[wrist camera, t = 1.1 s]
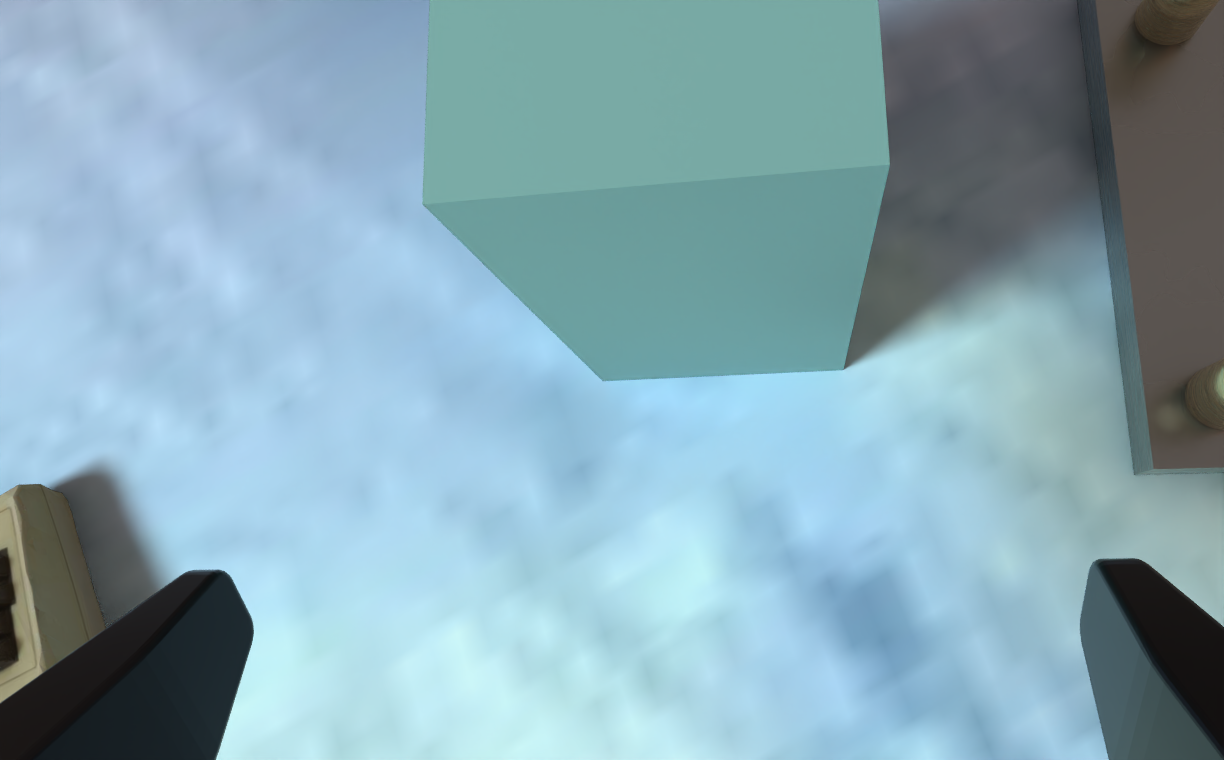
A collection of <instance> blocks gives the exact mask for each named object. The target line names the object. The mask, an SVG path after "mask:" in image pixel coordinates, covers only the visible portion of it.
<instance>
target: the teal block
mask: <svg viewBox="0 0 1224 760" xmlns="http://www.w3.org/2000/svg"><path fill="white" fill-rule="evenodd" d="M889 167H890V158H889V144H888V130H887V116H886V103H885V89H884V75H883V61H882V47H881V33H880V19H879V6H878V0H430V7H429V35H428V63H427V91H426V119H425V147H424V175H423V203H422V204H423V205H424V206H425V207H426V208H427V209H428V210H429V211H430V212H431V213H432V214H433V215H434V216H435V217H436V218H437V219H438V220H439V221H440V222H441V223H442V224H443V225H444V226H445V227H446V228H447V229H448V230H449V231H450V232H451V233H452V234H453V235H454V236H455V237H456V238H457V239H458V240H459V241H460V242H461V243H462V244H463V245H464V246H466V247H467V248H468V249H469V250H470V251H471V252H472V253H473V254H474V255H475V256H476V257H477V258H478V259H479V260H480V261H481V262H482V263H483V264H484V265H485V266H486V267H487V268H488V269H489V270H490V271H491V272H492V273H493V274H494V275H495V276H496V277H497V278H498V279H499V280H500V281H501V282H502V283H503V284H504V285H505V286H506V287H507V288H508V289H509V290H510V291H511V292H512V293H513V294H514V295H516V296H517V297H518V298H519V299H520V300H521V301H522V302H523V303H524V304H525V305H526V306H527V307H528V308H529V309H530V310H531V311H532V312H533V313H534V314H535V315H536V316H537V317H538V318H539V319H540V320H541V321H542V322H543V323H544V324H545V325H546V326H547V327H548V328H549V329H550V330H551V331H552V332H553V333H554V334H555V335H556V336H557V337H558V338H559V339H560V340H561V341H562V342H563V343H564V344H565V345H567V346H568V347H569V348H570V349H571V350H572V351H573V352H574V353H575V354H576V355H577V356H578V357H579V358H580V359H581V360H582V361H583V362H584V363H585V364H586V365H587V366H588V367H589V368H590V369H591V370H592V371H593V372H594V373H595V374H596V375H597V376H598V377H599V378H600V379H601V380H602V381H615V380H637V379H659V378H680V377H702V376H723V375H745V374H767V373H788V372H810V371H832V370H843V369H844V365H845V361H846V356H847V352H848V347H849V343H850V339H851V334H852V330H853V325H854V321H855V316H856V312H857V308H858V303H859V299H860V294H861V290H862V286H863V281H864V277H865V272H866V268H867V264H868V259H869V255H870V250H871V246H872V242H873V237H874V233H875V228H876V224H877V220H878V215H879V211H880V206H881V202H882V197H883V193H884V189H885V184H886V180H887V175H888V171H889Z"/></svg>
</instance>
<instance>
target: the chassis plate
mask: <svg viewBox="0 0 1224 760" xmlns="http://www.w3.org/2000/svg"><path fill="white" fill-rule="evenodd" d="M1077 2H1078V11H1079V19H1080V27H1081V36H1082V44H1083V52H1084V61H1085V69H1086V77H1087V86H1088V94H1089V102H1090V111H1091V119H1092V127H1093V136H1094V144H1095V152H1096V161H1097V169H1098V177H1099V186H1100V194H1101V202H1102V211H1103V219H1104V227H1105V236H1106V244H1107V252H1108V261H1109V269H1110V277H1111V286H1112V294H1113V302H1114V311H1115V319H1116V328H1117V336H1118V344H1119V353H1120V361H1121V369H1122V378H1123V386H1124V394H1125V403H1126V411H1127V419H1128V428H1129V436H1130V444H1131V453H1132V461H1133V469H1134V475H1150V474H1191V473H1224V0H1077Z"/></svg>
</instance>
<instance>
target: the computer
mask: <svg viewBox="0 0 1224 760" xmlns="http://www.w3.org/2000/svg"><path fill="white" fill-rule="evenodd" d="M104 629H106V626H105V623H104V620H103V617H102V614H101V611H100V607H99V604H98V601H97V598H96V595H95V592H94V589H93V585H92V582H91V578H90V575H89V571H88V568H87V564H86V561H85V557H84V554H83V551H82V548H81V544H80V541H79V538H78V535H77V531H76V527H75V523H74V519H73V515H72V512H71V510H70V507H69V504H68V501H67V499H66V498H65V497H64V496H63V494H62V493H60V492H56V491H53V490H50V489H49V488H47V487H45V486H43V485H41V484H28V485H17V486H15V487H14V488H12V489H10V490H9V491H7V492H5V493H4V494H2V495H0V703H1V702H2V701H3V700H5V699H6V698H8V697H9V696H10V695H12V694H13V693H15V692H16V691H18V690H19V689H20V688H22V687H23V686H25V685H26V684H27V683H29V682H30V681H32V680H33V679H35V678H36V677H37V676H39V675H40V674H42V673H43V672H45V671H46V670H47V669H49V668H50V667H52V666H53V665H54V664H56V663H57V662H59V661H60V660H62V659H63V658H64V657H66V656H67V655H69V654H70V653H72V652H73V651H74V650H76V649H77V648H79V647H80V646H81V645H83V644H84V643H86V642H87V641H89V640H90V639H91V638H93V637H94V636H96V635H97V634H99V633H100V632H101V631H103V630H104Z"/></svg>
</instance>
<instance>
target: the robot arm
mask: <svg viewBox="0 0 1224 760" xmlns="http://www.w3.org/2000/svg"><path fill="white" fill-rule="evenodd" d="M253 634H254V629H253V622H252V618H251V616H250V614H249V612H248V610H247V608H246V606H245V604H244V602H243V600H242V598H241V596H240V594H239V592H238V590H237V588H236V586H235V584H234V582H233V580H232V578H231V577H230V575H229V574H227V573H226V572H225V571H222V570H192V571H188V572H186V573H184V574H182V575H181V576H179V577H178V578H177V579H175V580H174V581H172V582H171V583H170V584H168V585H167V586H165V587H164V588H162V589H161V590H160V591H158V592H157V593H155V594H154V595H152V596H151V597H150V598H148V599H147V600H145V601H144V602H143V603H141V604H140V605H138V606H137V607H135V608H134V609H133V610H131V611H130V612H128V613H127V614H125V615H124V616H123V617H121V618H120V619H118V620H117V621H116V622H114V623H113V624H111V625H110V626H108V627H107V628H106V629H104V630H103V631H101V632H100V633H99V634H97V635H96V636H94V637H93V638H91V639H90V640H89V641H87V642H86V643H84V644H83V645H81V646H80V647H79V648H77V649H76V650H74V651H73V652H72V653H70V654H69V655H67V656H66V657H64V658H63V659H62V660H60V661H59V662H57V663H56V664H54V665H53V666H52V667H50V668H49V669H47V670H46V671H45V672H43V673H42V674H40V675H39V676H37V677H36V678H35V679H33V680H32V681H30V682H29V683H27V684H26V685H25V686H23V687H22V688H20V689H19V690H18V691H16V692H15V693H13V694H12V695H10V696H9V697H8V698H6V699H5V700H3V701H2V702H1V703H0V760H216V757H217V755H218V752H219V749H220V746H221V742H222V739H223V736H224V733H225V729H226V726H227V723H228V720H229V716H230V713H231V710H232V707H233V703H234V700H235V697H236V694H237V690H238V687H239V684H240V681H241V677H242V674H243V671H244V668H245V664H246V661H247V658H248V655H249V651H250V648H251V645H252V641H253ZM1080 634H1081V642H1082V647H1083V651H1084V655H1085V659H1086V664H1087V668H1088V672H1089V676H1090V681H1091V685H1092V689H1093V694H1094V698H1095V702H1096V706H1097V711H1098V715H1099V719H1100V723H1101V728H1102V732H1103V736H1104V741H1105V745H1106V749H1107V753H1108V758H1109V760H1224V627H1223V626H1222V625H1221V624H1220V623H1219V622H1217V621H1216V620H1215V619H1214V618H1212V617H1211V616H1210V615H1209V614H1208V613H1206V612H1205V611H1204V610H1203V609H1202V608H1200V607H1199V606H1198V605H1197V604H1196V603H1194V602H1193V601H1192V600H1191V599H1190V598H1188V597H1187V596H1186V595H1185V594H1184V593H1182V592H1181V591H1180V590H1179V589H1177V588H1176V587H1175V586H1174V585H1173V584H1171V583H1170V582H1169V581H1168V580H1167V579H1165V578H1164V577H1163V576H1162V575H1161V574H1159V573H1158V572H1157V571H1156V570H1155V569H1153V568H1152V567H1151V566H1150V565H1148V564H1147V563H1146V562H1144V561H1142V560H1139V559H1134V558H1128V559H1098V560H1096V561H1094V562H1093V563H1092V565H1091V567H1090V569H1089V574H1088V579H1087V585H1086V590H1085V596H1084V601H1083V607H1082V612H1081V618H1080Z"/></svg>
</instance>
